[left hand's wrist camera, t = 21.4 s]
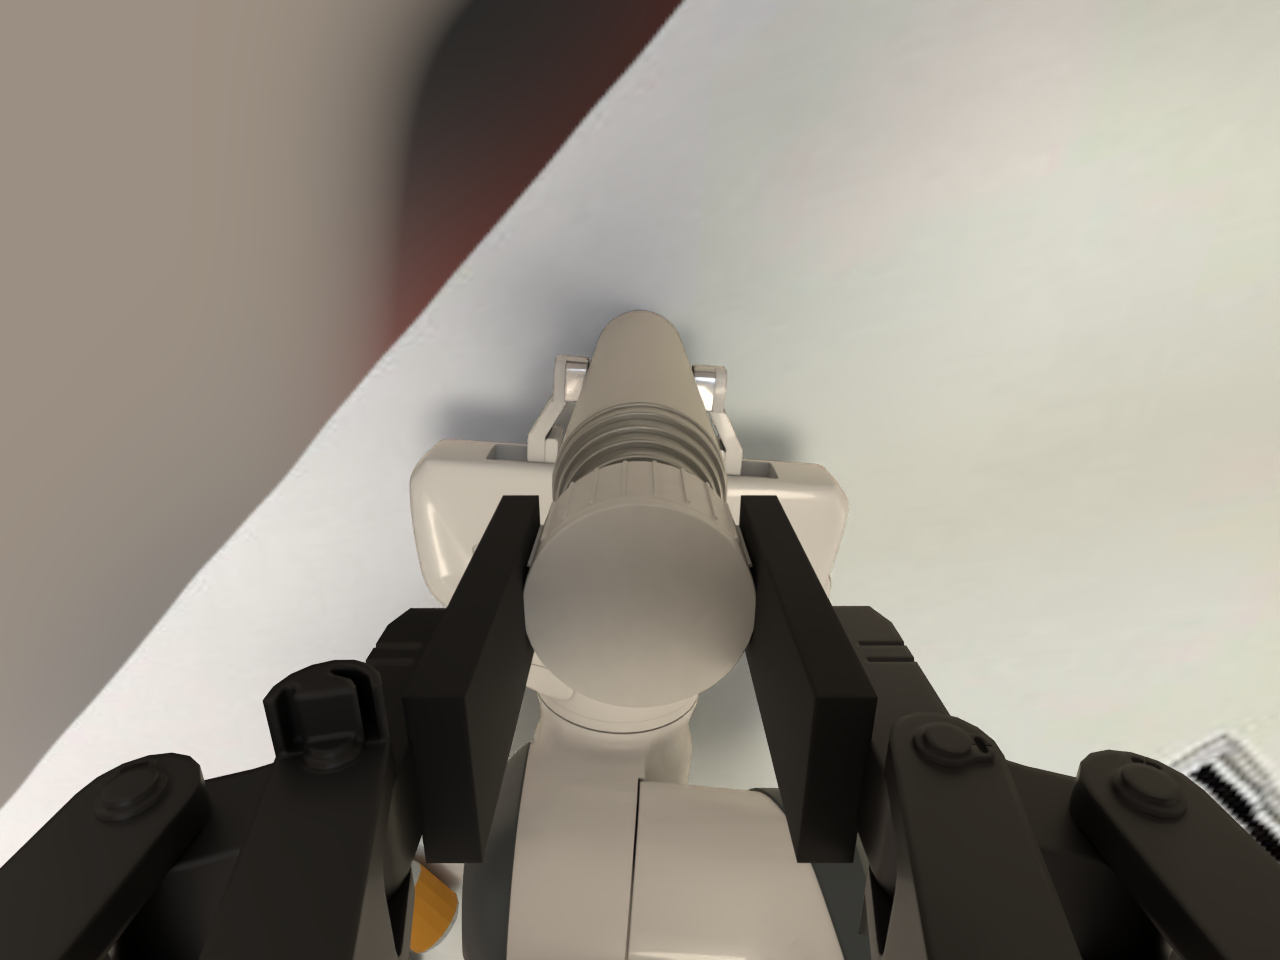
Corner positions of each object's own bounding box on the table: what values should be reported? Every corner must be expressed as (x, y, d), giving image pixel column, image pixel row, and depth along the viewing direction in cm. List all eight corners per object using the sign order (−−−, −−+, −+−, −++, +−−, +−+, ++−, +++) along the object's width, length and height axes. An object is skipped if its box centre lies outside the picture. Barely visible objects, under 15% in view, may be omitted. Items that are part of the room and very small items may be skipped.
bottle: (601, 401, 38) (535, 705, 14) (591, 314, 36) (496, 491, 12) (686, 393, 38) (766, 687, 14) (680, 306, 36) (759, 468, 12)
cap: (707, 428, 14) (719, 467, 11) (766, 608, 15) (788, 674, 13) (504, 496, 14) (479, 545, 12) (581, 664, 16) (571, 736, 13)
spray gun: (405, 989, 56) (233, 913, 53) (498, 875, 50) (310, 784, 47) (383, 1049, 52) (197, 970, 50) (482, 933, 46) (276, 837, 44)
